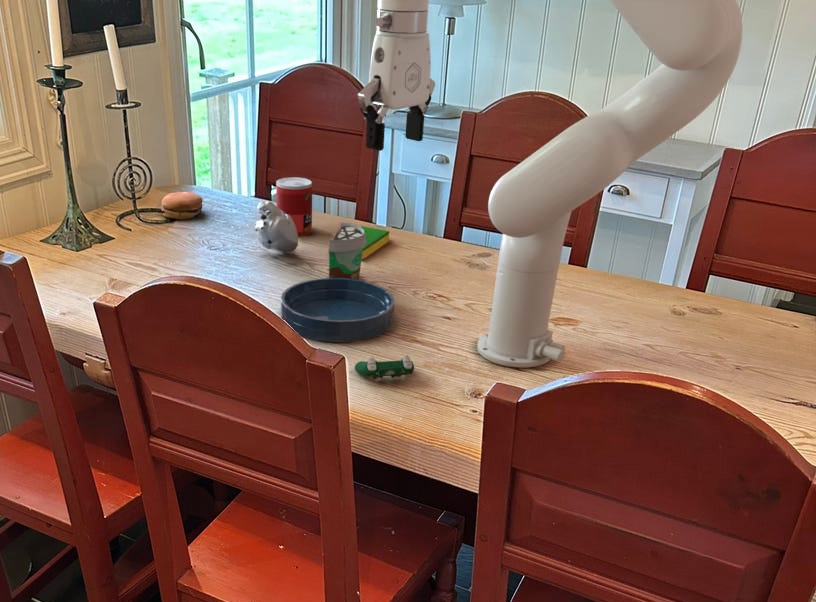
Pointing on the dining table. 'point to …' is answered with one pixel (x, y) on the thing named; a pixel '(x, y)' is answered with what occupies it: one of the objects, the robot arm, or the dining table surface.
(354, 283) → the basin
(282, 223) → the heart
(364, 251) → the dish sponge
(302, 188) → the canned food
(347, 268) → the food container
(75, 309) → the dining table surface
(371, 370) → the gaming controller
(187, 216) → the burger
